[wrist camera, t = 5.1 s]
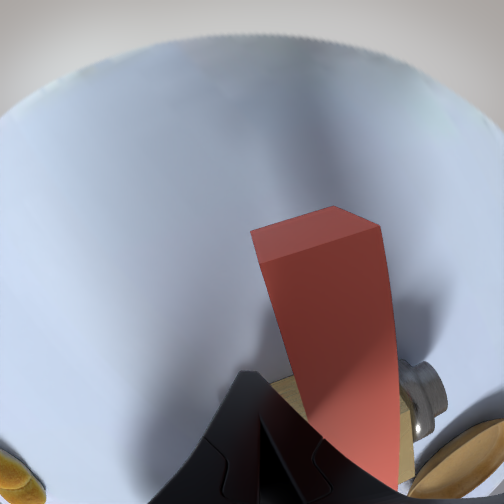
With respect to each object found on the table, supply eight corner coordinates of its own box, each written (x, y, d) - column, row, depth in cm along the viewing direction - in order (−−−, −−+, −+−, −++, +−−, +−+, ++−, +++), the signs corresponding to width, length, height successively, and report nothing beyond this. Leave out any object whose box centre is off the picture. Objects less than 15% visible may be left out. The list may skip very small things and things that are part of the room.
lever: (383, 485, 13) (400, 526, 10) (326, 505, 13) (338, 548, 10) (346, 201, 9) (397, 219, 6) (235, 235, 9) (238, 270, 6)
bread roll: (12, 444, 19) (-4, 471, 15) (60, 498, 22) (50, 523, 18) (-31, 434, 19) (-46, 456, 15) (13, 486, 22) (2, 508, 18)
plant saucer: (372, 508, 24) (379, 525, 21) (444, 413, 20) (458, 432, 18) (464, 484, 26) (472, 497, 23) (528, 397, 22) (541, 409, 20)
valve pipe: (251, 464, 20) (257, 536, 13) (207, 404, 18) (201, 489, 12) (418, 398, 19) (461, 457, 13) (408, 323, 17) (469, 384, 11)
